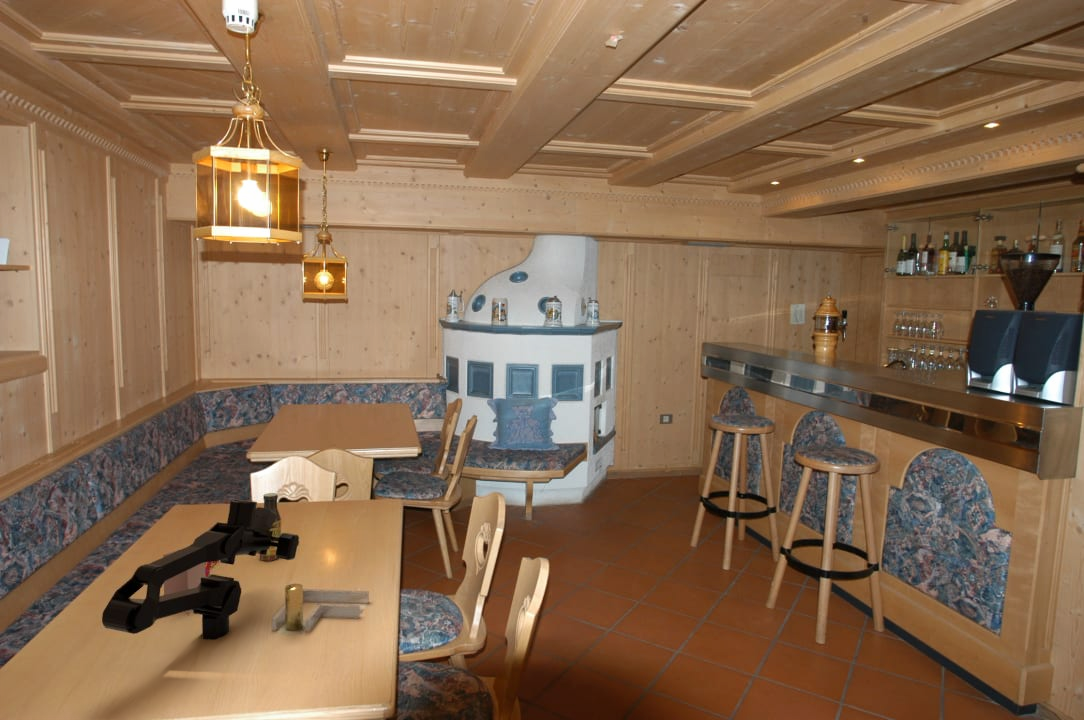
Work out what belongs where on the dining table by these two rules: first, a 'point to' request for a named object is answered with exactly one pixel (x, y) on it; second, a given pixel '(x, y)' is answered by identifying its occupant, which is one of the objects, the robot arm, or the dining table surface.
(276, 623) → the steel rails
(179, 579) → the greeting card
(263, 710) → the dining table surface
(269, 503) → the sauce bottle
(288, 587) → the brass peg
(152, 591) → the robot arm
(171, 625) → the dining table surface
